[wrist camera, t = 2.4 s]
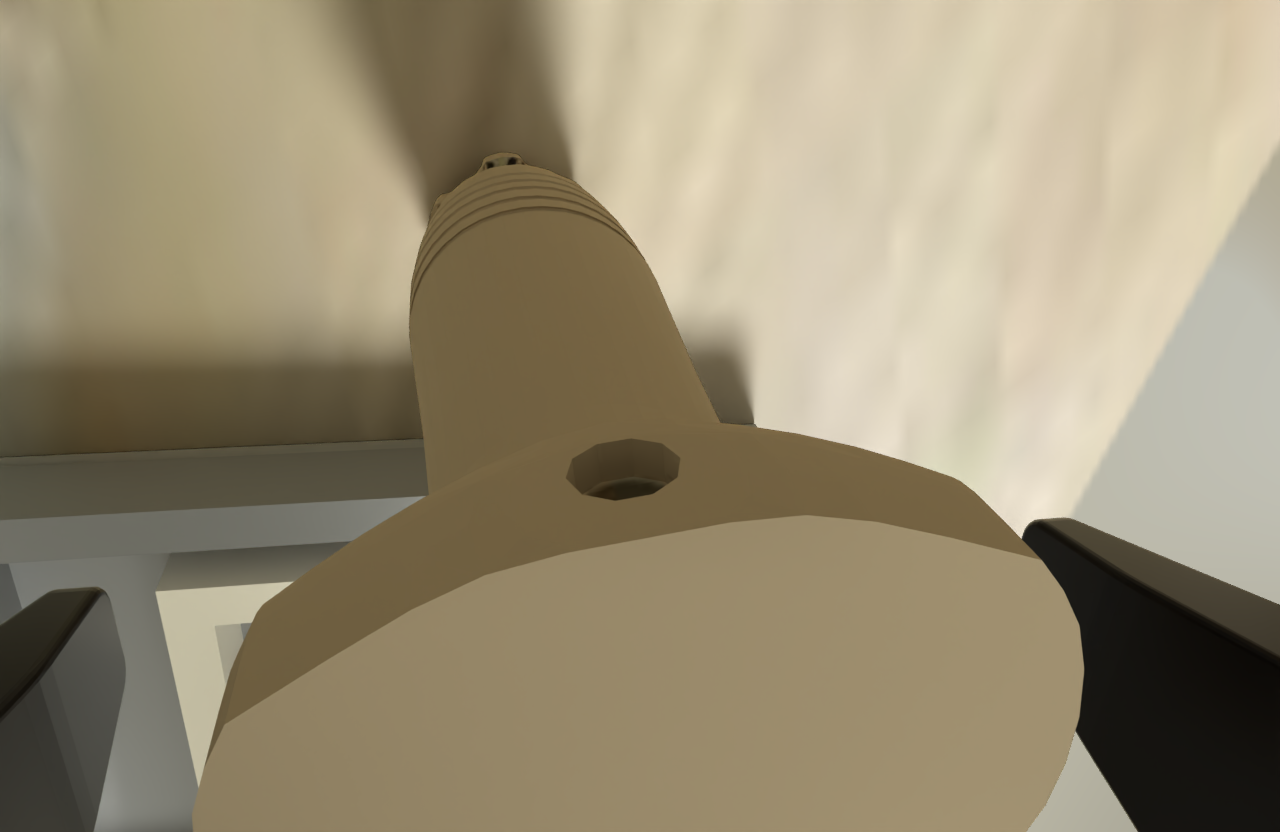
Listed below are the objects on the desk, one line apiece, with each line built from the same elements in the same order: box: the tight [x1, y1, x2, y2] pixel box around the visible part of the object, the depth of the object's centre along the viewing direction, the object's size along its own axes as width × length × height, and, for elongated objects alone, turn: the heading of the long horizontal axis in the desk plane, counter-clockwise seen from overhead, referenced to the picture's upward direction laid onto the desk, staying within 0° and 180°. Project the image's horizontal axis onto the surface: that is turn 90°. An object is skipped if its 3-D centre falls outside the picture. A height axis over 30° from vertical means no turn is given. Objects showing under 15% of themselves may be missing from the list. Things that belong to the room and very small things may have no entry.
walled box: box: [0, 424, 757, 832], centre depth 24 cm, size 14×18×2 cm
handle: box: [192, 153, 1084, 832], centre depth 13 cm, size 5×6×15 cm
